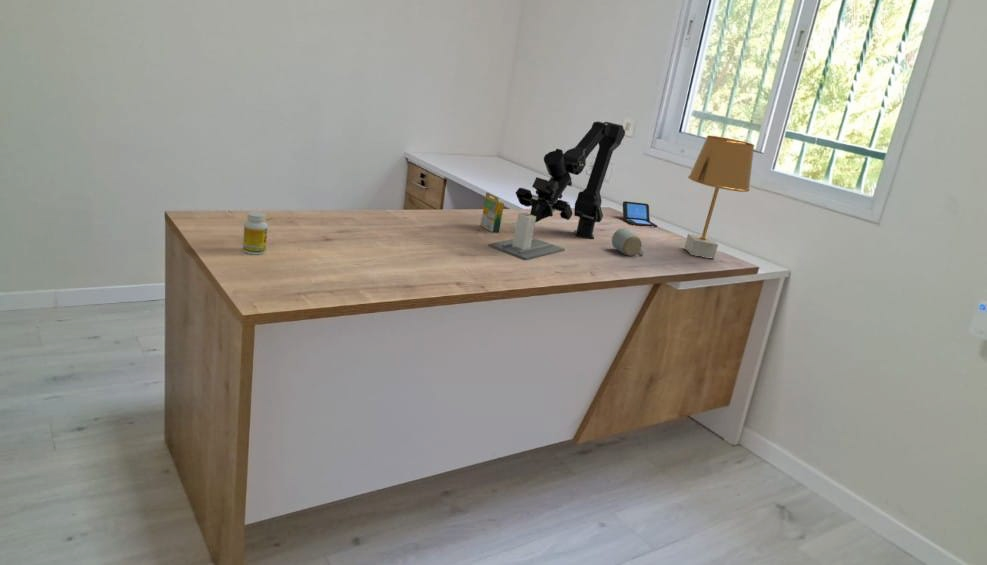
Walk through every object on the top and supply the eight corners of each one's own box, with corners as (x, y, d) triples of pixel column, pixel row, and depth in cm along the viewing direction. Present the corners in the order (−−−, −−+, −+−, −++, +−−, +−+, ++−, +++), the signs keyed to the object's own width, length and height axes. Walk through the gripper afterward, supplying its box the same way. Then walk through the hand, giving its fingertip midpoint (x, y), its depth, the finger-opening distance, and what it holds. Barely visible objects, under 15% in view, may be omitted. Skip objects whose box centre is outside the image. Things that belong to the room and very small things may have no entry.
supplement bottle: (241, 247, 170) (243, 210, 167) (263, 248, 172) (266, 211, 169) (243, 255, 165) (246, 216, 162) (267, 255, 168) (269, 217, 165)
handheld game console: (631, 226, 272) (635, 207, 270) (618, 218, 282) (622, 200, 279) (658, 228, 277) (662, 210, 275) (644, 221, 286) (648, 203, 284)
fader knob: (519, 244, 214) (525, 212, 211) (530, 247, 212) (536, 216, 209) (512, 245, 211) (518, 213, 208) (522, 249, 209) (529, 217, 205)
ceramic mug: (621, 256, 225) (627, 234, 222) (608, 248, 232) (614, 226, 229) (648, 258, 229) (654, 236, 227) (635, 250, 236) (640, 229, 234)
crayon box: (499, 232, 227) (505, 198, 223) (492, 232, 225) (498, 197, 222) (487, 225, 233) (493, 192, 229) (480, 225, 231) (485, 191, 227)
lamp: (736, 267, 237) (771, 150, 224) (677, 257, 237) (709, 138, 224) (718, 250, 257) (750, 141, 244) (663, 241, 256) (692, 131, 243)
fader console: (528, 237, 227) (529, 234, 226) (564, 250, 220) (565, 246, 219) (488, 245, 209) (489, 242, 209) (525, 260, 202) (526, 256, 202)
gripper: (524, 161, 215) (497, 198, 209) (575, 176, 205) (548, 215, 200) (533, 185, 223) (507, 221, 218) (583, 200, 214) (557, 238, 208)
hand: (529, 223), depth 211 cm, fingers closed
